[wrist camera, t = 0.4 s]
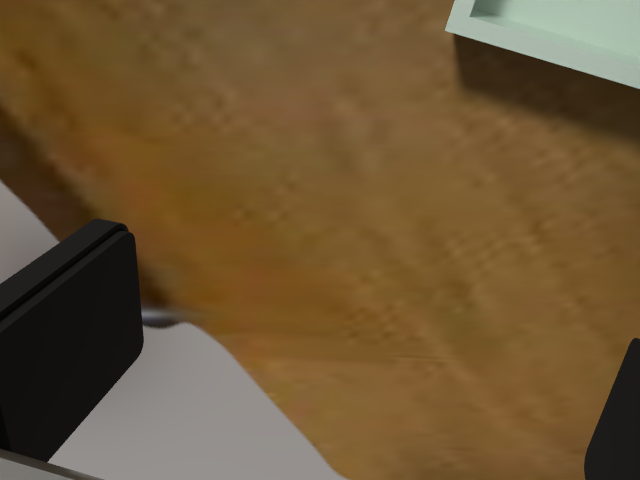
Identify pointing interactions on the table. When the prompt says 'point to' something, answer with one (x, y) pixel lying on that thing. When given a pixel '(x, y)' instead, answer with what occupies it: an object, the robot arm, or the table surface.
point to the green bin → (559, 32)
